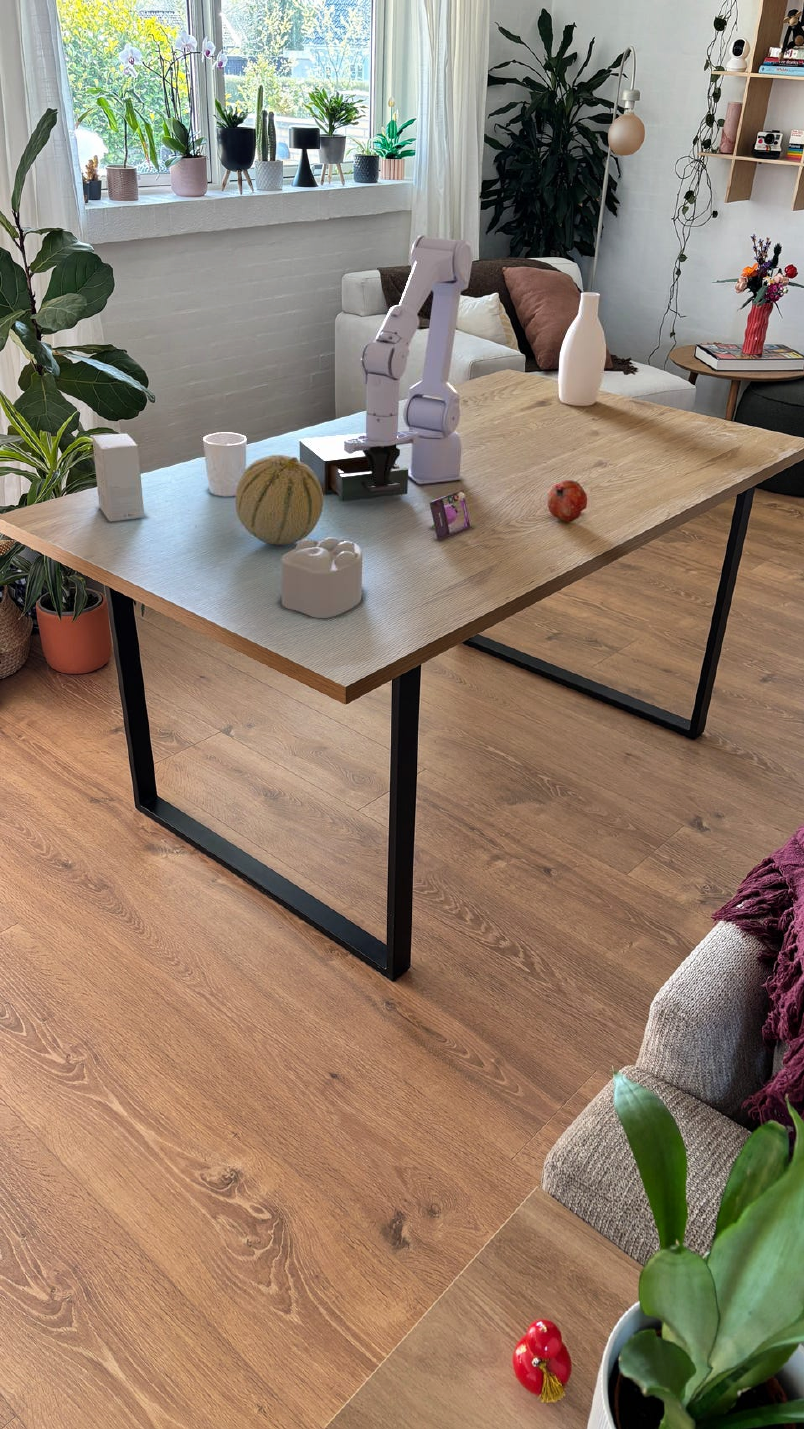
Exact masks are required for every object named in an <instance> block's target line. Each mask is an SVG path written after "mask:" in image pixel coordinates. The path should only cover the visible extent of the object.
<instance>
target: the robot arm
mask: <svg viewBox="0 0 804 1429" xmlns="http://www.w3.org/2000/svg"><path fill="white" fill-rule="evenodd" d="M472 265H473V252H472V248H471V245H470V243H469V242H468V241H467V240H466V239H460V240H459V239H450V238H441V237H432V236H426V235H422V234H421V235H419V236H417V237H416V239H415V240H414V242H413V244H412V247H411V251H410V268H411V272H410V274H409V277H408V280H407V282H406V286H405V288H404V291H403V293H402V296H401V299H400V301H399V303H398V304H396V305H393V306H392V307H390V308H389V310H388V312H387V313H386V314H387V315H386V317H385V318H384V321H383V323H382V325H381V327H380V329H379V330H378V332H377V335H376V337H375V338H374V340H372V341H370V342H368V343H367V344H365V346H364V347H363V350H362V353H361V358H360V368H361V371H362V373H363V383H364V385H366V404H365V405H366V406H365V409H366V410H365V411H366V412H365V433H366V434H365V435H362V436H359V437H355V438H352V439H349V440H344V451H345V452H347V453H349V454H351V453H354V452H356V451H362V450H363V452H364V454H365V456H366V458H367V460H368V463H369V465H370V468H371V472H372V476H373V481H374V485H375V486H381V485H387V482H388V478H389V475H390V472H391V470H392V467H393V465H394V463H395V464H396V461H397V460H398V458H399V457H400V456H401V449H400V448H398V447H397V446H403V445H408V444H411V452H410V454H411V456H410V468H407V469H408V478H409V479H411V480H412V481H414V482H415V483H416V484H418V485H428V484H435V483H443V482H453V481H460V480H462V476H460V475H461V462H462V461H461V460H462V441H461V437H460V435H459V433H458V432H457V431H456V430H457V428H458V425H459V423H460V417H461V411H460V400H461V398H460V396H461V395H460V394H459V393H458V392H457V391H456V389H454V387H453V386H452V385H451V384H450V383H449V377H450V371H451V363H452V357H453V350H454V342H455V337H456V336H455V335H456V329H457V322H458V315H459V308H460V300H461V294H462V291H464V290H467V289H468V288H469V283H470V279H471V272H472V267H473V266H472ZM431 292H432V294H433V298H432V305H431V310H430V311H431V312H430V317H429V318H430V319H429V327H428V332H427V333H428V334H427V339H426V340H427V341H426V349H425V355H424V362H423V370H422V379H421V380H420V381H418V382H417V383H416V384H414V385H412V386H411V387H410V388H409V390H408V394H407V397H406V398H407V399H406V402H405V403H404V407H403V414H402V416H403V421H404V424H405V426H406V427H408V430H401V431H400V430H399V406H400V405H399V404H400V382H401V381H400V380H401V378H402V376H403V375H404V373H405V371H406V369H407V364H408V357H409V354H410V350H409V346H410V345H411V343H412V340H413V338H414V336H415V334H416V332H417V330H418V328H419V326H420V319H419V318H420V317H419V316H418V314H419V312H420V310H421V309H422V307H423V306H424V303H425V302H426V300H427V299H428V298H429V295H430V294H431ZM426 396H428V397H426ZM432 397H434V398H432Z"/></svg>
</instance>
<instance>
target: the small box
mask: <svg viewBox="0 0 804 1429" xmlns="http://www.w3.org/2000/svg"><path fill="white" fill-rule="evenodd" d="M91 439H92V448H93V459H94V469H95V478H96V486H97V497H98V499H97V500H98V508H99V509H100V510H101V511H102V513H103V514H104V516H105V517H106V519H107V520H108V521H109V522H117V521H119V522H120V521H127V520H134V519H141V518H145V510H144V509H145V508H144V499H143V487H142V476H141V466H140V453H139V452H140V451H139V445H138V444H137V443H136V442H135V441H134V440H133V438H132V437H131V436H130V435H129V434H128V433H115V434H103V435H93V436H92V437H91Z"/></svg>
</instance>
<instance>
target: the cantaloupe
mask: <svg viewBox="0 0 804 1429" xmlns="http://www.w3.org/2000/svg"><path fill="white" fill-rule="evenodd" d="M234 498H235V499H234V505H235V510H236V515H237V517H238V520H239V521H240V523H241V525H242V526H243V527H244V528H245V530H246V531H247V532H248V533H249V534H250V535H252V536H253V537H254V538H256V539H257V540H258V541H261V542H262V543H267V544H268V545H269V544H270V545H278V546H279V545H280V546H285V545H286V546H287V545H291V544H294V543H298V542H299V541H301V540H303V539H306V537H308V536H309V535H310V534H311V533H312V532H313V531H314V529H315V528H316V526H317V525H318V522H319V520H320V518H321V516H322V512H323V504H324V493H323V492H322V489H321V486H320V483H319V481H318V479H317V477H316V475H315V474H314V472H313V471H312V470H311V469H310V468H309V467H308V466H307V465H305V464H304V463H302V462H300V459H298V458H297V457H295V456H289V455H284V454H271V455H267V456H264V457H262V458H259V459H257V460H255V461H253V462H252V463H251V464H249V466H246V470H245V471H244V472H243V474H242V476H241V478H240V480H239V482H238V485H237V489H236V496H235V497H234Z"/></svg>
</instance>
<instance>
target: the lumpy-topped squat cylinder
mask: <svg viewBox="0 0 804 1429" xmlns="http://www.w3.org/2000/svg"><path fill="white" fill-rule="evenodd" d="M280 575H281V576H280V580H281V581H280V582H281V584H280V585H281V586H280V587H281V605H282V607H283V608H284V607H285V608H286V609H288V610H293V611H296V612H300V613H302V614H305V615H307V616H309V617H311V618H312V617H313V618H315V619H328V618H329V619H330V618H333V617H337V616H339V615H341V614H343V613H345V612H347V611H349V610H351V609H353V608H354V607H356V606H357V605H358V604H360V602H361V599H362V596H363V595H362V592H363V591H362V590H363V589H362V586H363V550H362V549H361V547H360V546H359V545H358V544H357V543H355V542H352V541H348V540H344V539H338V538H336V537H334V536H329V537H328V536H327V537H325V538H324V539H323V540H312V539H309V538H303V539H301V540H299V541H298V542H297V544H296V546H295V548H293V549H291V550H289V551H288V552H286V553H284V554H283V555H282V556H281V558H280Z"/></svg>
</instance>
